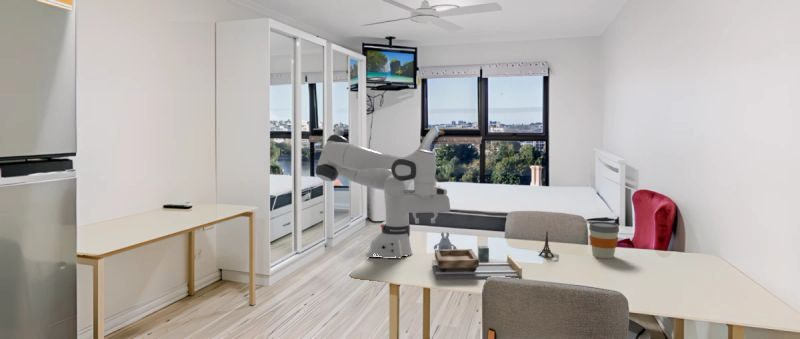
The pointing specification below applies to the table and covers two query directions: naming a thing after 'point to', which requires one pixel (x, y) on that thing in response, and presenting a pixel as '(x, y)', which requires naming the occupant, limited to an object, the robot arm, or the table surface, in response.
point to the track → (482, 270)
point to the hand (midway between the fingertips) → (425, 223)
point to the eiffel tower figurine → (548, 251)
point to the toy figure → (444, 243)
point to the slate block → (483, 253)
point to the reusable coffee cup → (603, 238)
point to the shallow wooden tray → (456, 259)
